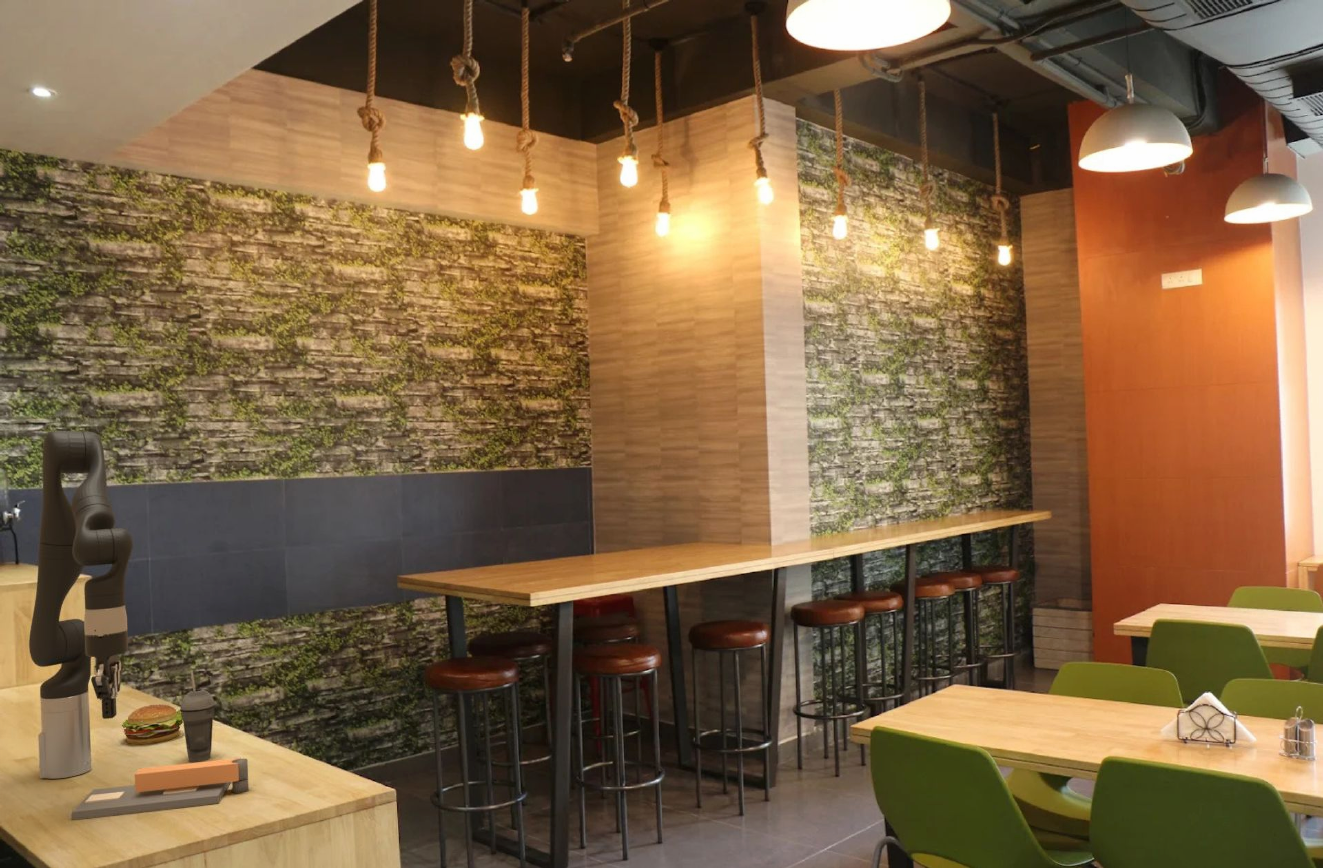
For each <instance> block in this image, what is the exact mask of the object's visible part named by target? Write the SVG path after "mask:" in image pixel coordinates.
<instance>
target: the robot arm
mask: <svg viewBox="0 0 1323 868" xmlns="http://www.w3.org/2000/svg"><path fill="white" fill-rule="evenodd" d="M62 474H81V475H82V474H88V475H87V476H86V477H85V479H84V480H83V482H82V483H81V484H79V486H78V488H76V490H75V492H74V494H73V496H72V499H71V503H70V501H69V499H68V497H67V495H66V493H65V491H64V489H63V483H62ZM107 483H108V482H107V471H106V460H105V451H104V446H103V442H102V439H101V437H100V436H99V435H98V434H97V433H96V432H93V431H85V430H83V431H82V430H81V431H80V430H79V431H78V430H75V431H74V430H50V431H48V432H47V433H46V435H45V436H44V439H43V445H42V509H41V517H40V518H41V519H40V529H39V540H38V558H37V582H36V594H35V600H34V607H33V613H32V618H31V625H30V632H29V641H28V649H29V654H30V658H31V660H32V662H33V663H34V664H35V665H36V666H38V667H39V668H40V667H41V668H45V667H52V666H56V665H57V666H58V665H61V666H60V668H59V669H58V670H57V672H56V673H55V674H54V675H52V676H51V677H50V678H48V679H47V680H45V681H43V682H42V683H41V685H40V687H39V688H40V689H39V697H40V698H39V699H40V719H41V721H40V722H41V723H40V724H41V732H40V733H39V734H38V740H37V741H38V759H39V762H38V763H39V779H54V780H55V779H64V778H65V779H66V778H71V777H74V776H75V777H77V776H79V775H82V774H85V773H88V772H89V771H91V770H92V746H91V745H92V744H91V722H90V719H91V718H90V698H89V697H90V695H89V684H90V681H91V684H92V687H93V690H94V693H95V696H96V699H97V700H99V701H101V717H102V719H104V720H105V719H106V720H107V719H113V718H115V717H116V716H117V697H118V693H119V692H120V690H121V684H122V677H123V672H124V665H123V663H122V662H121V661H120V658H119V655H122V654H125V653H127V652H128V650H129V640H128V639H129V636H128V615H127V610H126V599H125V598H126V597H125V586H126V584H125V582H126V576H127V571H128V565H129V562H130V559H131V556H132V552H133V547H134V542H133V541H134V540H133V537H132V535H131V533H130V532H129V531H128V530H127V529H126V528H120V527H119V528H118V527H116V528H114V527H115V523H116V519H115V515H114V511H113V508H112V505H111V500H110V498H109V493H108V485H107ZM104 565H111V567H110V569H109V571H107V572H106V573H105V574H103V575H100V576H96V577H93V578H89V579H88V580H87V581H85V583H84V592H83V594H84V619H83V620H82V619H80V618H71V619H65V620H60V616H61V613H62V610H61V609H62V608H63V604H64V601H65V599H66V597H67V595H68V594H69V593H70V591H71V590H72V588H73V586H74V585H75V583H76V582H77V581H78V579H79V577H80V576H81V575H82V572H83V570H84V568H85V567H94V566H104ZM92 658H94V659H95V665H94V666H93V674H94V675H95V676H94V675H93V676H92V667H91V666H92V661H91V660H92Z"/></svg>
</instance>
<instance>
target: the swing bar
mask: <svg viewBox="0 0 1323 868" xmlns="http://www.w3.org/2000/svg"><path fill="white" fill-rule="evenodd" d="M248 763H249V762H248V758H242V757H239V758H229V759H218V760H207V761H200V762H189V763H181V764H172V765H171V764H170V765H163V766H160V765H159V766H151V767H143V768H139V769H138V770H137V771H136V773H134V785H135V792H144V791H153V790H162V789H171V788H180V787H189V786H198V785H207V784H216V783H226V782H230V783H232V782H235V781H239V780H243V779H246V778H248V779H249V768H248V767H249V765H248Z"/></svg>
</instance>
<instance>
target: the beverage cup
mask: <svg viewBox="0 0 1323 868" xmlns="http://www.w3.org/2000/svg"><path fill="white" fill-rule="evenodd" d="M189 672H190V679H191V685H192V690H191V691H189V692H187V693H186V694H185V696H184V697H183V698H182V700H181V703H180V709H179V710H180V712H181V716H182V719H183V723H182V725H183V729H184V730H183V731H184V739H185V745H186V752H187V758H188V762H189V763H198V762H206V761H209V760H210V759H211V757H212V756H211V754H212V746H213V745H212V742H213V740H212V739H213V725H214V724H213V722H214V714H215V707H216V704H215V701H214V698H213V696H212V695H211V693H209V692H208V691H207V690H206V689H200V688H199V689H198V688H197V689H196V683H195V679H194V677H195V676H194V670H193V669H190V671H189Z"/></svg>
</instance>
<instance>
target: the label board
mask: <svg viewBox="0 0 1323 868" xmlns="http://www.w3.org/2000/svg"><path fill="white" fill-rule="evenodd" d="M230 784H231V785H232V793H234V794H240V793H245V792H247V791H249V789H250V788H249V777H248V778H246V779H243V780H239V781H235V782H226V783H216V784H207V785H198V786H189V787H180V788H171V789H162V790H153V791H144V792H135V784H132V785H123V786H112V787H105V788H104V787H103V788H95V789H92V790H91V792H90V793H88V795H86V797H84V799H83V800H81V802H80V803H79V804H78V805H77V806H76V807H75V808H74V809H72V811H71V812H70V813H71V821H75V820H77V821H78V820H83V819H84V820H85V819H92V818H93V819H94V818H102V817H110V816H111V817H112V816H119V815H127V814H128V815H129V814H137V813H147V812H155V811H164V810H172V809H182V808H189V807H191V808H192V807H197V806H198V807H199V806H207V805H217V804H219V803H220V801H221V799H223V796H224V794H225V793H226V791H227V789H228V788H229V786H230Z"/></svg>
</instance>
